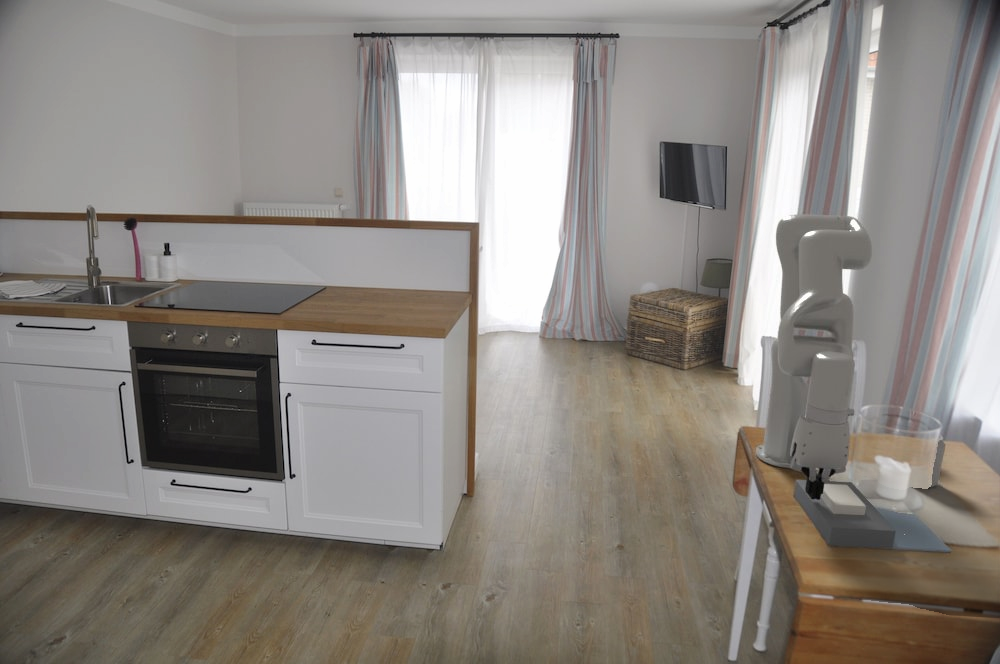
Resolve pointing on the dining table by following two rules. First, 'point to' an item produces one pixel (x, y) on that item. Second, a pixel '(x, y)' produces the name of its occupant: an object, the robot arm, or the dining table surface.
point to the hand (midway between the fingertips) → (813, 496)
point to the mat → (912, 533)
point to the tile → (842, 500)
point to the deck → (846, 521)
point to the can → (938, 461)
